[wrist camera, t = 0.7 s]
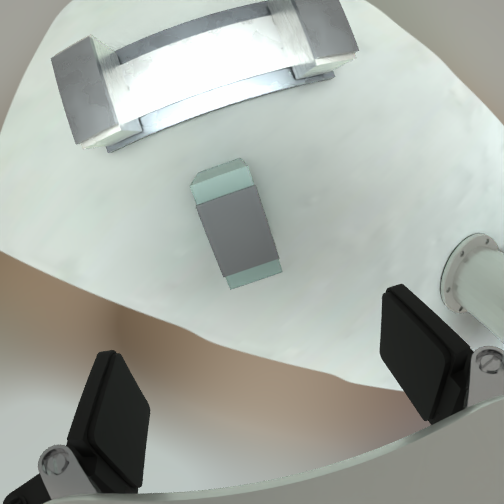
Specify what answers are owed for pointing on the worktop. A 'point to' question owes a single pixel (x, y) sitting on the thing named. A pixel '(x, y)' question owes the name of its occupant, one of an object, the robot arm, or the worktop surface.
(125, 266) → the worktop surface
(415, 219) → the worktop surface
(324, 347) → the worktop surface
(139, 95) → the grey blocky piece
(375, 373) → the worktop surface
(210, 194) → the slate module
